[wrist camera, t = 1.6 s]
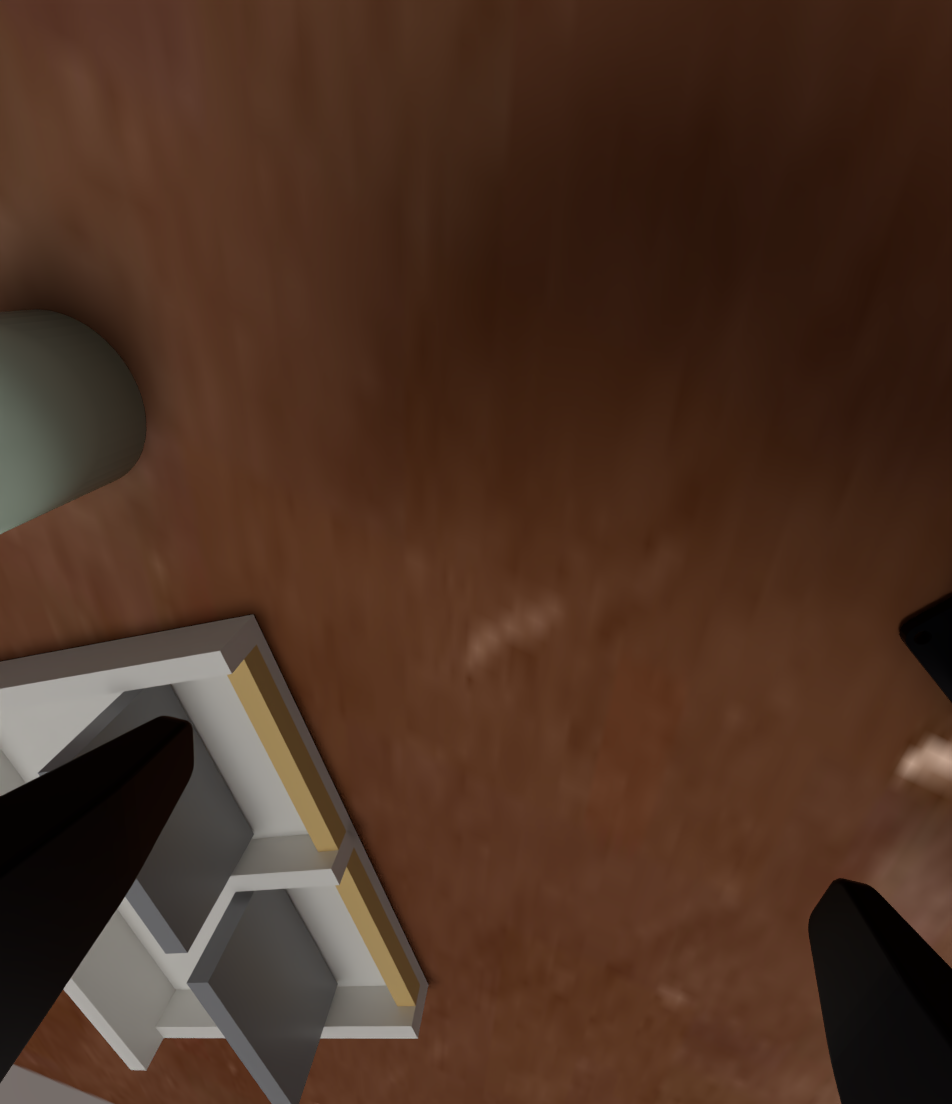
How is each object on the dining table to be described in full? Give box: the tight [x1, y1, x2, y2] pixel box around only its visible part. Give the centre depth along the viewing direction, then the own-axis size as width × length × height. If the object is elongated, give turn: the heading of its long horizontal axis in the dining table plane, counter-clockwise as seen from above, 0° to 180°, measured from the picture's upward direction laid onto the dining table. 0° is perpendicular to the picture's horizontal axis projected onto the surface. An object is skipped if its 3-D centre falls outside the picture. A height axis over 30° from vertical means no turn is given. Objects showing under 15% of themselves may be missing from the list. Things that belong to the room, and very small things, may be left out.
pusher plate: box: [38, 684, 254, 954], centre depth 24 cm, size 1×9×5 cm, turn 16°
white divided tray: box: [0, 615, 428, 1104], centre depth 27 cm, size 16×23×6 cm
